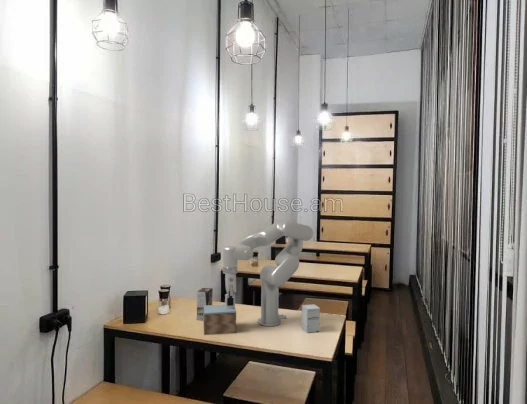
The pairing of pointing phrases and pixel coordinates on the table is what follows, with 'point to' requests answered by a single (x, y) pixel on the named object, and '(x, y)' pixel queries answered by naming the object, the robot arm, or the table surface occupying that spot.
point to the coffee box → (203, 301)
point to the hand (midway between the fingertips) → (230, 304)
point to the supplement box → (310, 318)
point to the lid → (220, 308)
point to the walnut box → (220, 323)
